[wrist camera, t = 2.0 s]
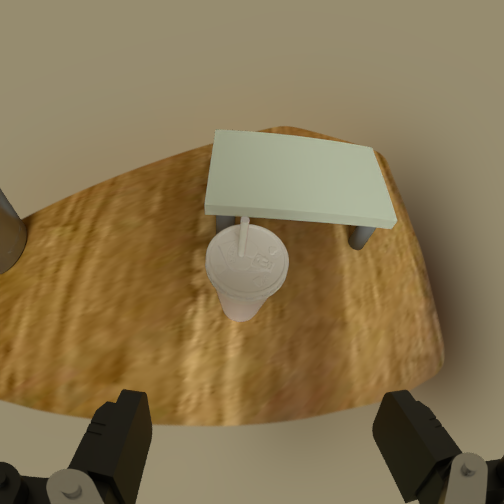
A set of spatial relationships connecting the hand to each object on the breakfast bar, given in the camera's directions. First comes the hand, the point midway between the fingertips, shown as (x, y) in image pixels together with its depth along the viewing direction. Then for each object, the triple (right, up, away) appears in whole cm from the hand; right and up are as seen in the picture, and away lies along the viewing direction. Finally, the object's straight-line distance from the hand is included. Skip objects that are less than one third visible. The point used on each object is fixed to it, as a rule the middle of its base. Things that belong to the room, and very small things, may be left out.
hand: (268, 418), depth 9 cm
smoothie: (-2, 0, +23) cm, 23 cm away
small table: (+4, +11, +30) cm, 32 cm away
